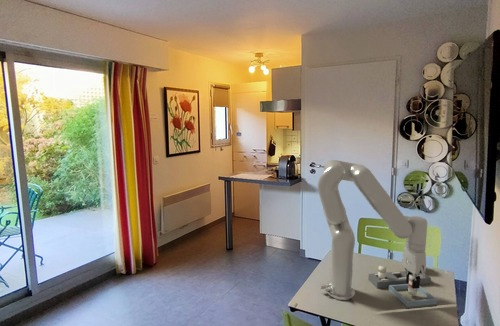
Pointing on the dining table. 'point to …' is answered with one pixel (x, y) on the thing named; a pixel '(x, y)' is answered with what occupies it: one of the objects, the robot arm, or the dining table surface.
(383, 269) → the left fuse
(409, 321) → the dining table surface
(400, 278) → the fuse holder
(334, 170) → the robot arm
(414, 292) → the cylinder
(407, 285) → the tray
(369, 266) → the dining table surface
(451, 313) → the dining table surface
